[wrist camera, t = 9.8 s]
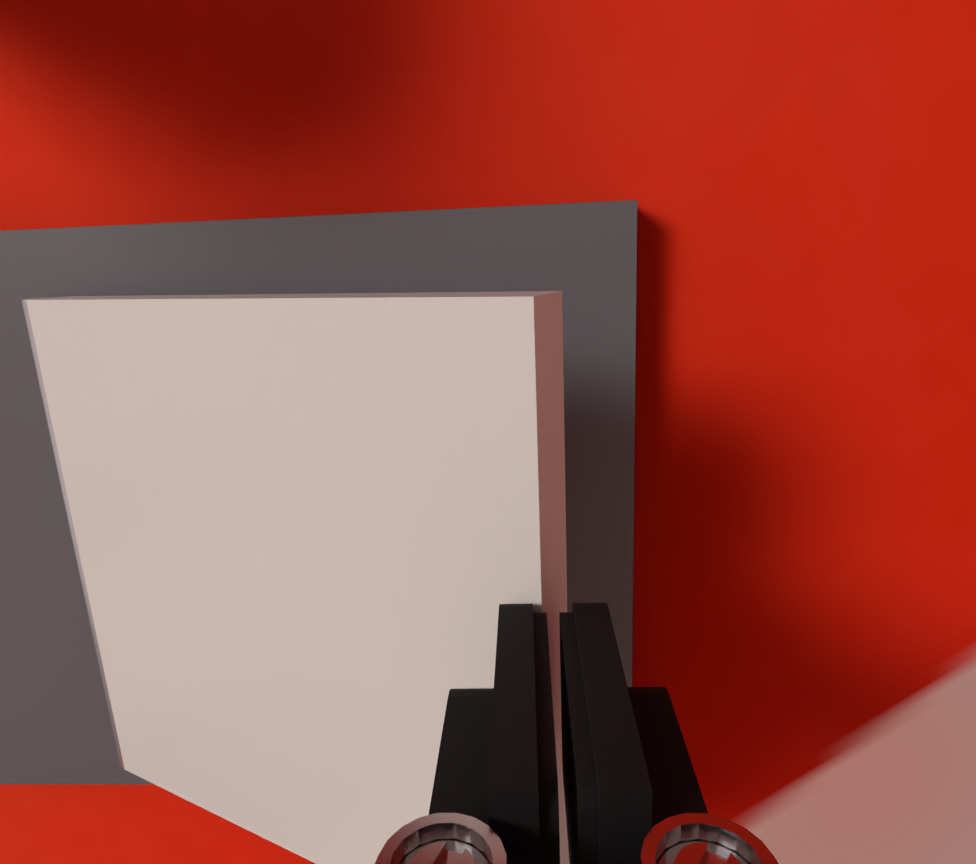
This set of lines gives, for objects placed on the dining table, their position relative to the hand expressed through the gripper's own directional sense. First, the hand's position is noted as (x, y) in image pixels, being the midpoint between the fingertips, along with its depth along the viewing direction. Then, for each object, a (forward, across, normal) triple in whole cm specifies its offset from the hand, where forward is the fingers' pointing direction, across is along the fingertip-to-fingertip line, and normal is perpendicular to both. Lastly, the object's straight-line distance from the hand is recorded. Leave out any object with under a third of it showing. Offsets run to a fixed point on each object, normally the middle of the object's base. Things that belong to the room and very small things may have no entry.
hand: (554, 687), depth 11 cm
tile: (+3, +6, 0) cm, 6 cm away
